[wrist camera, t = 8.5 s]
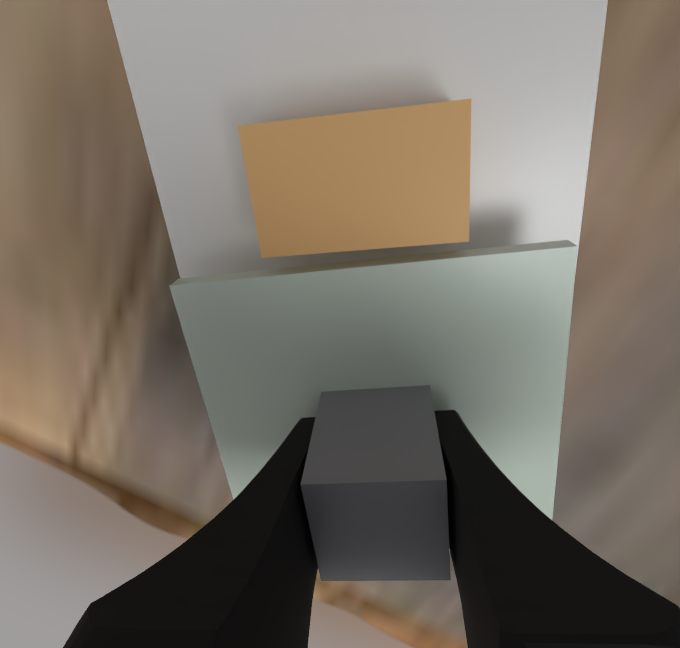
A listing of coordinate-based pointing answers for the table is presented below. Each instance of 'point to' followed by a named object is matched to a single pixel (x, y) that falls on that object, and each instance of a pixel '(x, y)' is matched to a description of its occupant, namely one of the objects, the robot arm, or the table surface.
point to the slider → (360, 179)
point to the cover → (386, 386)
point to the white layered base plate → (362, 105)
